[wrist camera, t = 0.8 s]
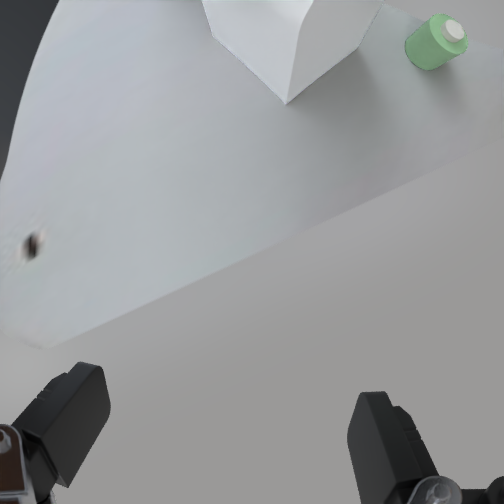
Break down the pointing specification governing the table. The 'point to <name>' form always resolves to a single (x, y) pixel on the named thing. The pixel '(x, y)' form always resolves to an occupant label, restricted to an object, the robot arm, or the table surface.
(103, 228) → the table surface
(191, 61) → the table surface
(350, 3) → the milk
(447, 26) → the soap bottle
